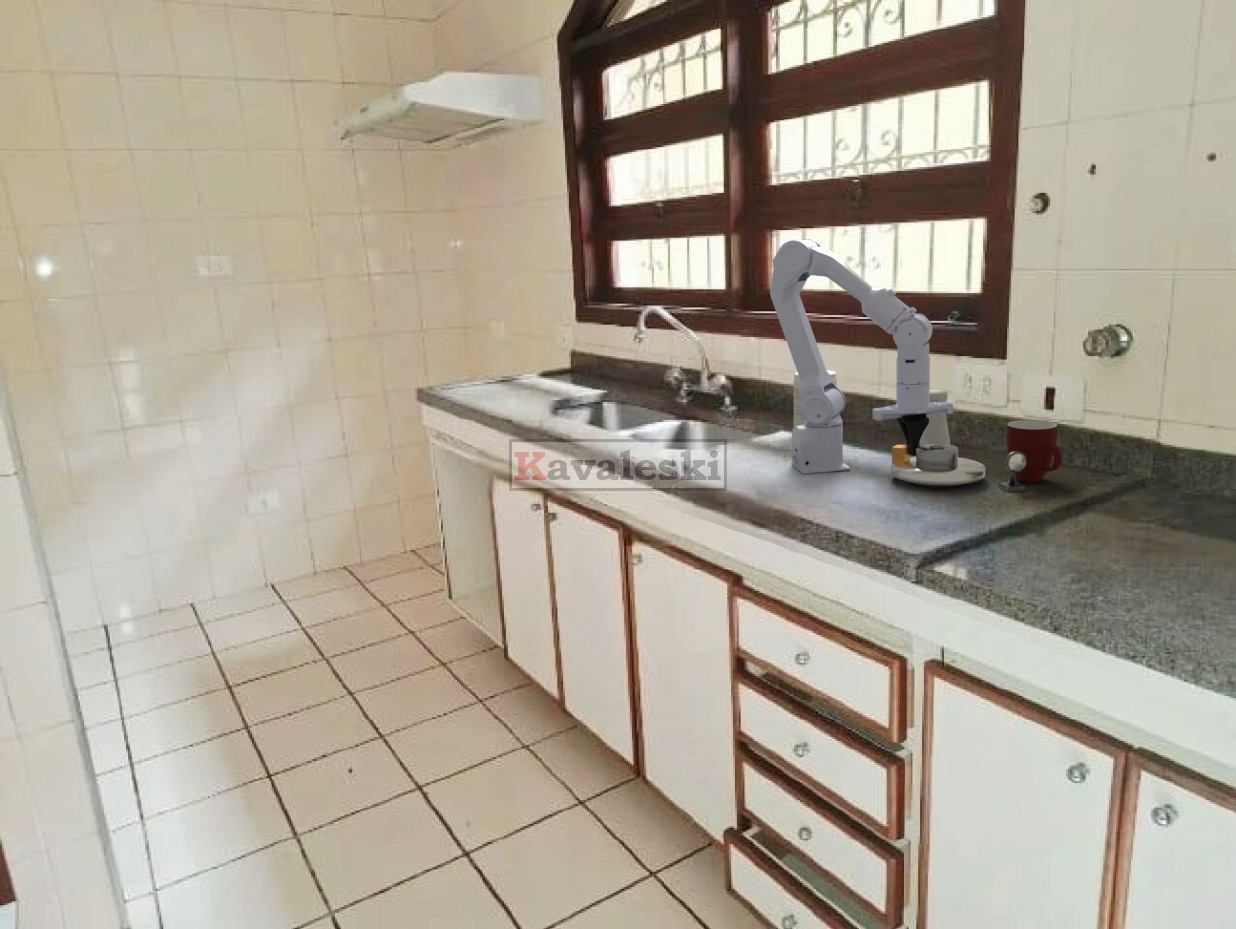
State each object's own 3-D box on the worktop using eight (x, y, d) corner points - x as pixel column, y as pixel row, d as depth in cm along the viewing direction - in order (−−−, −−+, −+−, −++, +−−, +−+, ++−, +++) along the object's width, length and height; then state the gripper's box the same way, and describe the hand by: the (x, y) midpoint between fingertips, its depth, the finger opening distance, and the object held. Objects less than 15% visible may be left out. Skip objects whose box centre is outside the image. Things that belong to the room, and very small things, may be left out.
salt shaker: (951, 456, 166) (954, 392, 163) (921, 457, 168) (923, 393, 164) (946, 449, 172) (948, 387, 169) (917, 450, 173) (918, 388, 170)
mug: (1077, 483, 144) (1081, 427, 142) (1045, 492, 141) (1048, 434, 138) (1025, 471, 153) (1028, 417, 151) (993, 478, 150) (996, 424, 148)
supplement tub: (809, 443, 186) (809, 377, 182) (785, 435, 194) (784, 372, 191) (845, 436, 189) (845, 372, 186) (820, 429, 198) (819, 368, 194)
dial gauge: (1005, 492, 142) (1007, 453, 141) (996, 487, 145) (998, 449, 143) (1026, 490, 142) (1028, 451, 141) (1016, 485, 145) (1018, 447, 144)
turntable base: (922, 489, 147) (922, 484, 146) (898, 475, 156) (898, 470, 156) (977, 484, 147) (977, 479, 147) (950, 470, 157) (950, 465, 157)
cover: (948, 473, 146) (948, 453, 145) (909, 468, 151) (909, 449, 150) (963, 464, 151) (964, 445, 150) (925, 460, 156) (926, 441, 155)
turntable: (965, 490, 141) (966, 465, 140) (875, 477, 151) (875, 455, 150) (998, 468, 152) (999, 445, 151) (912, 458, 163) (913, 437, 161)
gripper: (883, 389, 149) (883, 463, 152) (961, 381, 149) (960, 455, 153) (868, 383, 155) (868, 454, 159) (943, 376, 156) (942, 447, 160)
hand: (912, 454), depth 156 cm, fingers closed
